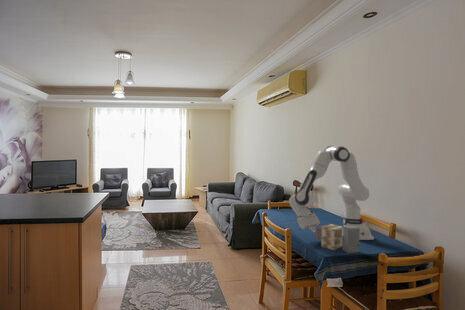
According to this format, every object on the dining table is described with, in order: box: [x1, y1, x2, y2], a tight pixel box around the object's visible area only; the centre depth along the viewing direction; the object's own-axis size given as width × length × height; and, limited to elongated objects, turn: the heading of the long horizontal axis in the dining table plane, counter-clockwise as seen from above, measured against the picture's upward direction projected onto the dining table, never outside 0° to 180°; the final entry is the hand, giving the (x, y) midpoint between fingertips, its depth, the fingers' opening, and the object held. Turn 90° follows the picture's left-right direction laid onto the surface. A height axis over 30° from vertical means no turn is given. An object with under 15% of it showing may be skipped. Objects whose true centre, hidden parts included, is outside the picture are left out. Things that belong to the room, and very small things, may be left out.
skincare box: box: [341, 225, 360, 254], centre depth 195 cm, size 8×7×16 cm
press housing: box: [320, 223, 343, 251], centre depth 203 cm, size 9×11×14 cm
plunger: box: [315, 225, 324, 241], centre depth 208 cm, size 6×8×8 cm
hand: (315, 231), depth 212 cm, fingers closed
